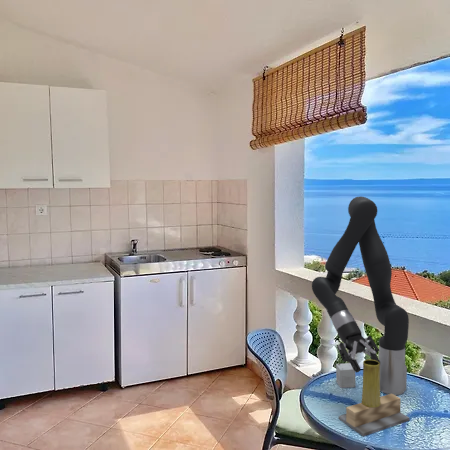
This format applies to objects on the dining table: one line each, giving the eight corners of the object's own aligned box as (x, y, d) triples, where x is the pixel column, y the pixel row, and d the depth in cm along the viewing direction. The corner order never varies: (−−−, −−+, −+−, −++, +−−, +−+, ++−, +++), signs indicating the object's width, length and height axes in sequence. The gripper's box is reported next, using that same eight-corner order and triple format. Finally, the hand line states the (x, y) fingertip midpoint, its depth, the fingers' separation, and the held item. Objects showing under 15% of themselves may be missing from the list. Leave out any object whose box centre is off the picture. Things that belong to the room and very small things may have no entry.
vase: (381, 408, 153) (382, 366, 152) (362, 407, 155) (362, 365, 153) (379, 399, 159) (380, 359, 157) (360, 398, 160) (361, 358, 159)
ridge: (383, 404, 168) (383, 388, 167) (409, 420, 157) (409, 403, 156) (338, 418, 159) (338, 402, 158) (363, 436, 148) (363, 418, 148)
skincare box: (355, 387, 181) (355, 369, 180) (340, 388, 181) (340, 370, 180) (350, 380, 187) (350, 362, 186) (335, 381, 187) (335, 363, 186)
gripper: (334, 324, 160) (357, 368, 151) (366, 317, 166) (390, 359, 157) (324, 334, 165) (346, 378, 156) (356, 327, 172) (379, 368, 163)
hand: (368, 368), depth 157 cm, fingers open, 8 cm apart
